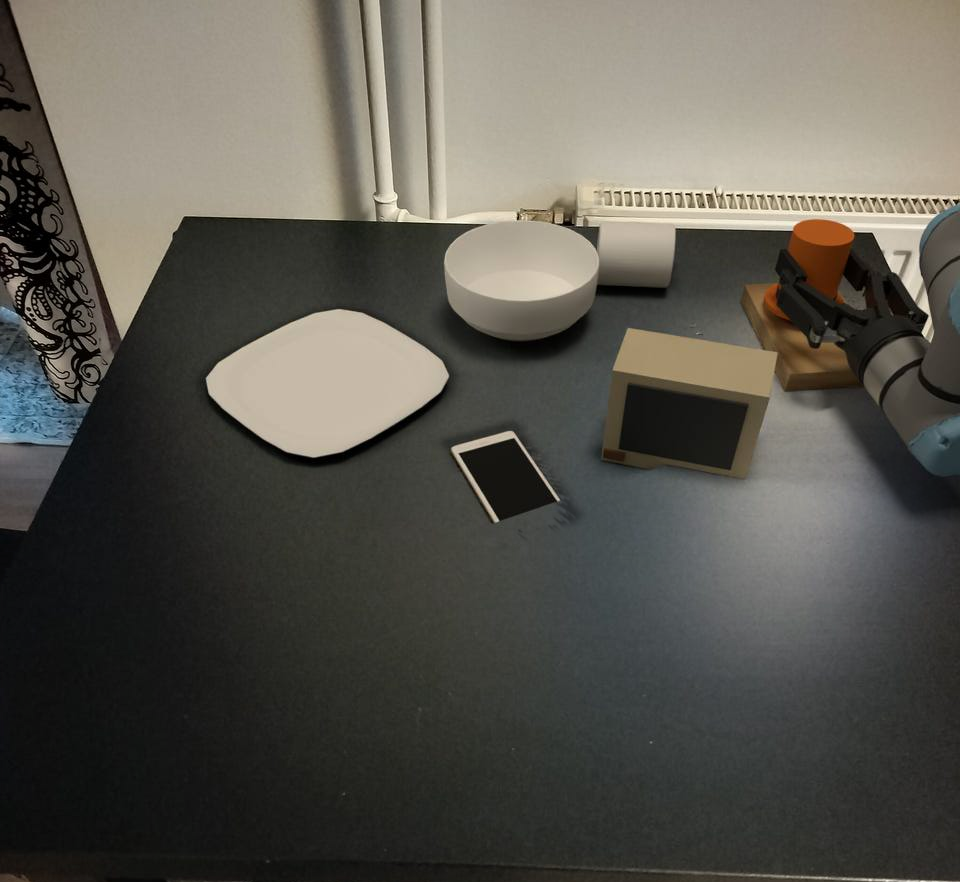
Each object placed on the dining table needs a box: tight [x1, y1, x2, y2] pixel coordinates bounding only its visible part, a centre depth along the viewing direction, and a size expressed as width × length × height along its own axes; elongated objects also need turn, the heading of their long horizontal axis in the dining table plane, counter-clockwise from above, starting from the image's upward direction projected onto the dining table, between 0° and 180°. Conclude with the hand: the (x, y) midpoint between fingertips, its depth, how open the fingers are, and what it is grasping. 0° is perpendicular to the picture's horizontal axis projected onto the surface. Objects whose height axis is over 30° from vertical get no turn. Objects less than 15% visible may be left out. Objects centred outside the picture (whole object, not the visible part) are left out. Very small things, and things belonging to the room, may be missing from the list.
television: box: [600, 327, 778, 480], centre depth 97 cm, size 16×8×12 cm, turn 73°
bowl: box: [443, 219, 599, 342], centre depth 115 cm, size 20×20×8 cm
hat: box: [764, 218, 856, 321], centre depth 111 cm, size 10×10×9 cm
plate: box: [205, 308, 450, 460], centre depth 109 cm, size 25×25×2 cm
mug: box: [596, 220, 677, 289], centre depth 122 cm, size 12×10×8 cm
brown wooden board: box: [740, 282, 865, 392], centre depth 114 cm, size 20×12×2 cm, turn 5°
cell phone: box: [450, 430, 561, 524], centre depth 98 cm, size 8×16×1 cm, turn 22°
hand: (810, 256), depth 111 cm, fingers closed on hat, 7 cm apart
